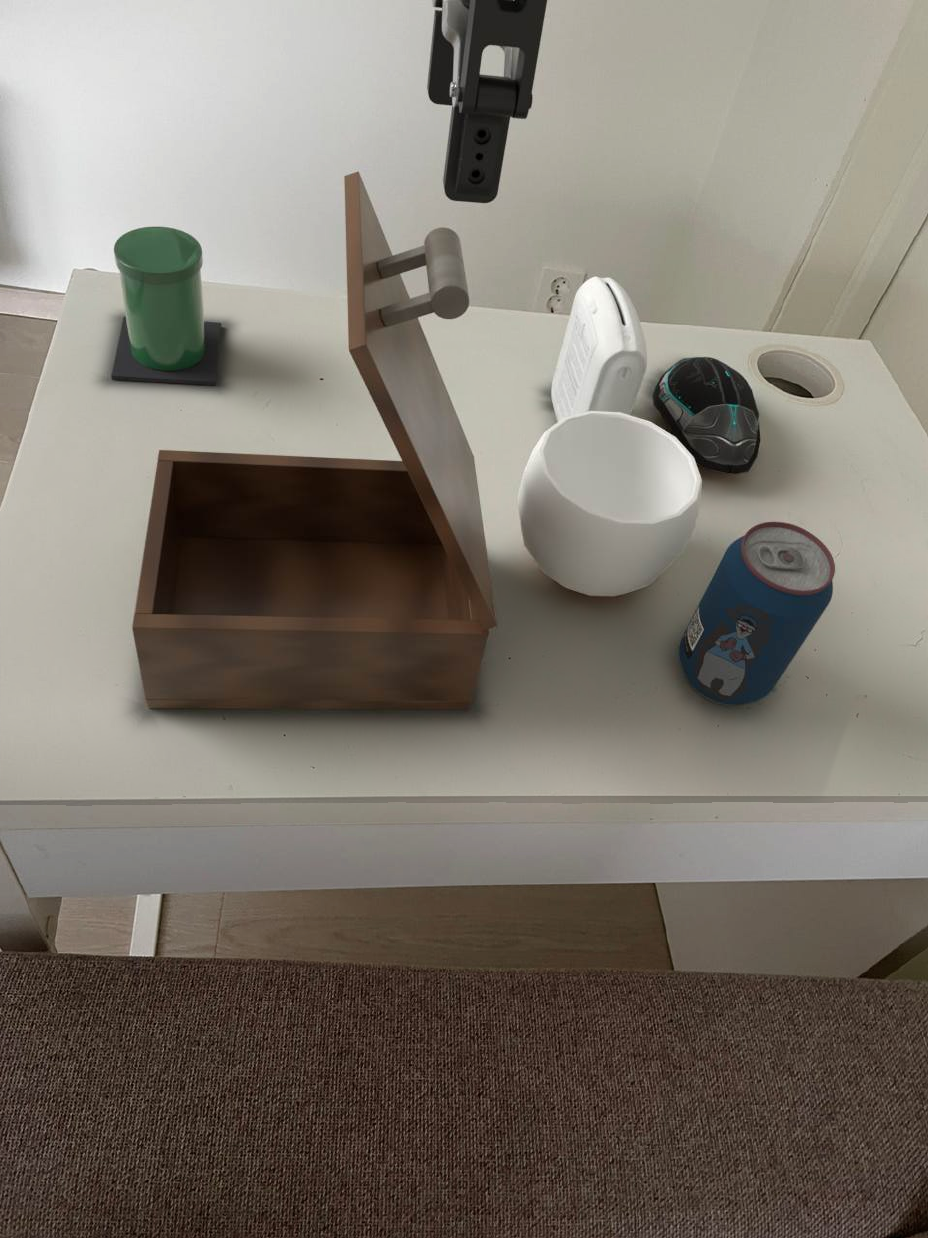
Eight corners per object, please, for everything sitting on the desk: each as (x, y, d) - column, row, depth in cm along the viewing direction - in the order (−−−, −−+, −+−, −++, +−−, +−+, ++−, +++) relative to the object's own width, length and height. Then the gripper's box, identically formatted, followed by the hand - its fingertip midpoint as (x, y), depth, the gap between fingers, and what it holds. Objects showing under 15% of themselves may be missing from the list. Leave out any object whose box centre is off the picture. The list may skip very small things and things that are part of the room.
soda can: (759, 637, 72) (830, 519, 63) (779, 718, 67) (858, 604, 58) (666, 628, 71) (724, 508, 62) (680, 710, 67) (744, 593, 57)
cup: (547, 480, 79) (575, 381, 72) (690, 547, 77) (734, 452, 69) (475, 576, 72) (497, 476, 64) (631, 654, 69) (673, 560, 62)
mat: (111, 379, 79) (111, 375, 79) (124, 319, 84) (123, 315, 84) (215, 385, 81) (214, 381, 80) (221, 326, 86) (221, 322, 85)
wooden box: (147, 708, 61) (131, 627, 55) (169, 535, 70) (158, 449, 64) (469, 710, 64) (489, 633, 58) (451, 544, 73) (467, 463, 67)
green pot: (123, 370, 80) (108, 269, 73) (132, 322, 84) (119, 222, 77) (205, 375, 81) (198, 276, 74) (211, 327, 85) (205, 229, 78)
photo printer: (618, 471, 81) (663, 343, 72) (568, 471, 80) (606, 341, 71) (591, 390, 87) (629, 262, 78) (544, 388, 86) (576, 260, 77)
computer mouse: (730, 370, 92) (752, 316, 88) (770, 498, 82) (798, 444, 77) (639, 360, 91) (657, 305, 87) (668, 489, 80) (690, 434, 76)
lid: (348, 349, 42) (461, 313, 41) (343, 175, 51) (436, 143, 50) (484, 630, 58) (568, 609, 57) (462, 460, 67) (534, 439, 66)
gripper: (394, -415, 35) (366, 68, 48) (424, -339, 26) (381, 228, 39) (598, -378, 37) (520, 83, 49) (692, -294, 28) (567, 242, 40)
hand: (458, 147), depth 44 cm, fingers open, 8 cm apart
